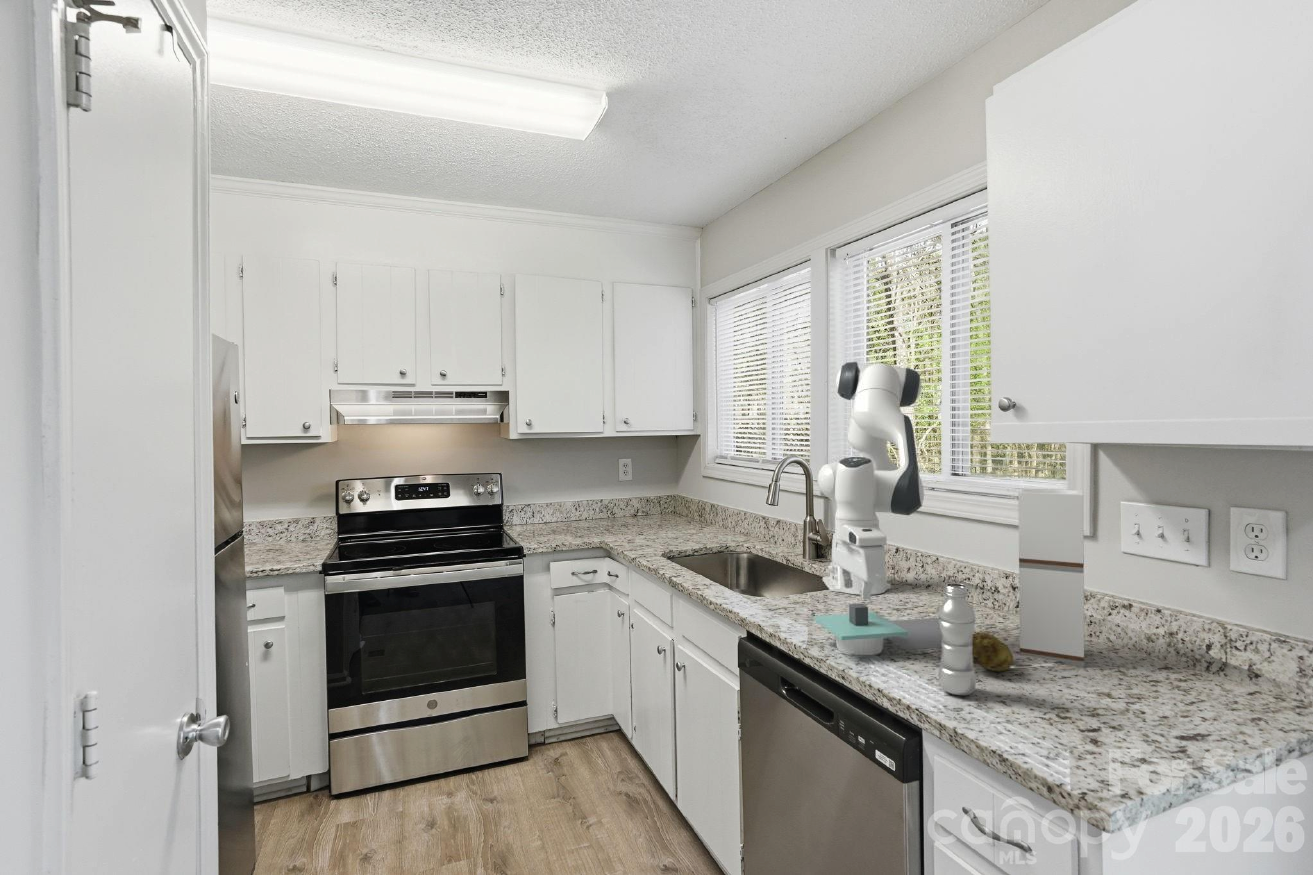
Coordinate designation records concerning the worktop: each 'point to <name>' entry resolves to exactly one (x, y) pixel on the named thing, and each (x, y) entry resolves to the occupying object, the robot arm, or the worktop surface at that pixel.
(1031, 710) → the worktop surface
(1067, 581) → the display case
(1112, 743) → the worktop surface
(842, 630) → the lid
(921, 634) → the mat
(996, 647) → the potato
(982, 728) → the worktop surface
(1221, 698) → the worktop surface
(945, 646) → the plastic bottle
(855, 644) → the ramekin
